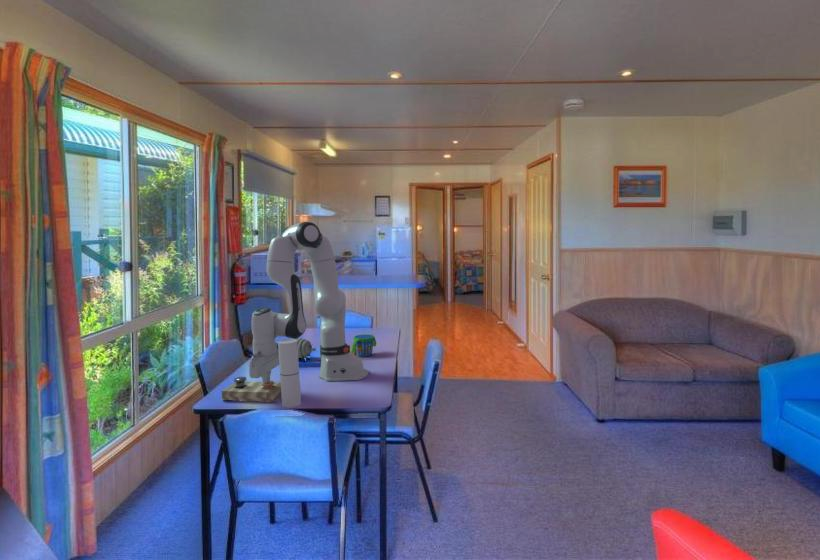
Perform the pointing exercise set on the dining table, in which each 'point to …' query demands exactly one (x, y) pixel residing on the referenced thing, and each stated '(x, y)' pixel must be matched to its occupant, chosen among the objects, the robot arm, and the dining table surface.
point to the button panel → (252, 392)
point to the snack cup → (363, 345)
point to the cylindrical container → (289, 372)
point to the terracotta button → (268, 384)
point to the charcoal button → (240, 382)
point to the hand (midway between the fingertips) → (266, 382)
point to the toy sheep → (304, 348)
